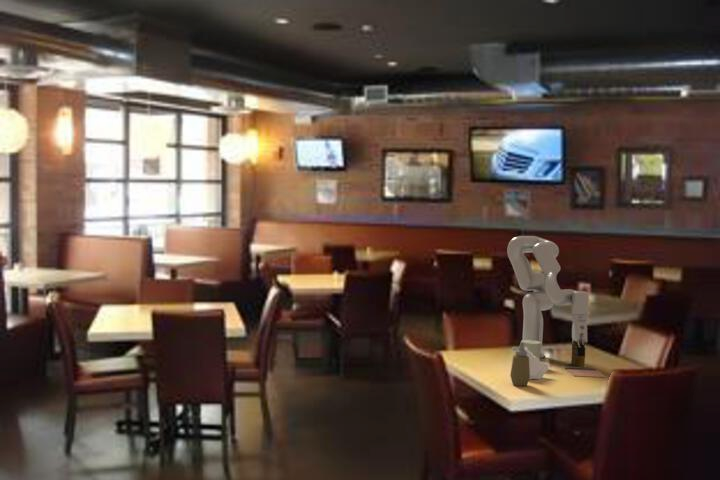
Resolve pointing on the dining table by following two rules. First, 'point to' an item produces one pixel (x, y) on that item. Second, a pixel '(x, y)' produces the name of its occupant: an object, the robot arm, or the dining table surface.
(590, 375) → the mat
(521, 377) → the squeeze bottle
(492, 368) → the dining table surface
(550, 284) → the robot arm
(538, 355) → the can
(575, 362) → the condiment
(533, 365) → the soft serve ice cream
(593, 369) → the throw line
